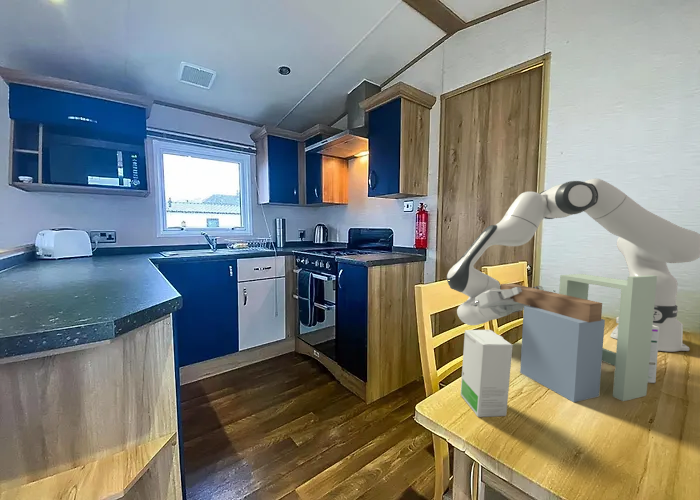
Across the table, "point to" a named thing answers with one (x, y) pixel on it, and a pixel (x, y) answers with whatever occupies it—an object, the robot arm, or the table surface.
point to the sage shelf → (624, 328)
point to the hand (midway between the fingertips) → (530, 289)
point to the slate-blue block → (562, 353)
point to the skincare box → (486, 372)
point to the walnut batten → (558, 303)
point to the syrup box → (653, 355)
